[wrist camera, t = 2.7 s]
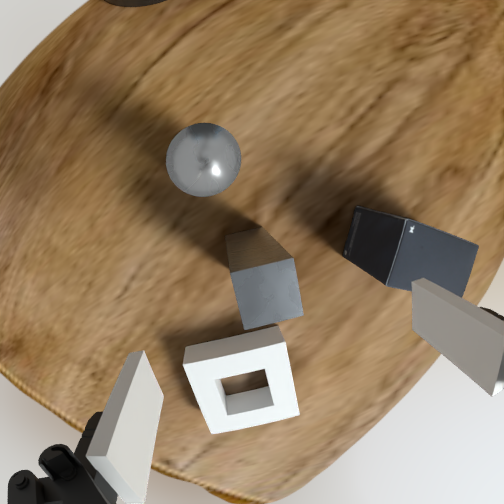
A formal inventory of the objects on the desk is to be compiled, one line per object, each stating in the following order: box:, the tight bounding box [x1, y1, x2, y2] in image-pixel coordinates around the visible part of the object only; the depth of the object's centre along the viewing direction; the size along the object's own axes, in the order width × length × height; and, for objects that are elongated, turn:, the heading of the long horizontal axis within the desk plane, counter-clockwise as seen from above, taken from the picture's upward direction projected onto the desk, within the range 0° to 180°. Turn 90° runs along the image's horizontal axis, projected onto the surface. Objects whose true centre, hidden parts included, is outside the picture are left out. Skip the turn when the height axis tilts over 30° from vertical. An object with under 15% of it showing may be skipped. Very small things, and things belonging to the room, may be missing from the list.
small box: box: [343, 206, 479, 298], centre depth 30 cm, size 11×6×10 cm, turn 76°
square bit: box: [225, 227, 304, 330], centre depth 27 cm, size 4×4×14 cm
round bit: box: [166, 123, 241, 197], centre depth 25 cm, size 4×4×14 cm
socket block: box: [183, 326, 300, 434], centre depth 35 cm, size 11×11×4 cm
